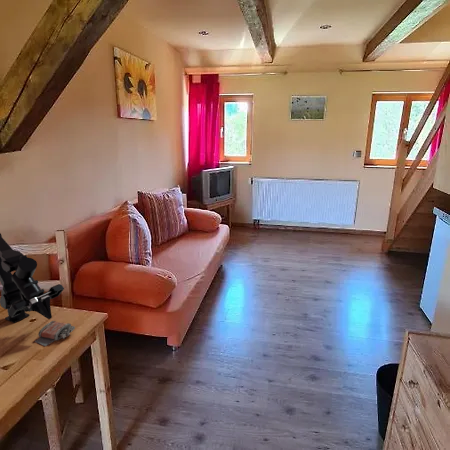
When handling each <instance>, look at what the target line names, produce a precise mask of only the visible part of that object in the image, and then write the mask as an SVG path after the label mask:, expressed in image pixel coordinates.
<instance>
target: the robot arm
mask: <svg viewBox="0 0 450 450" xmlns="http://www.w3.org/2000/svg"><path fill="white" fill-rule="evenodd" d="M37 262H38V261H36V260H35V259H34V258H32V257H28V256H27V254H25V255H24V254H23V253H22V251H19V250H15V249H13V248H12V247H11V245H9V243H8V242H7V241H6V240H5V239H4V238H3V236H2V233H1V232H0V284H1V286H2V289H1V294H0V295H1V296H0V306H1V308H3V309H4V310H7V316H5V317H4V319H5V320H6V321H8V322H11V323H13V324H15V323H17V322H19V321H22V320H23V319H26V318H27V317H29V316H30V314H29V313H30V312H36V313H38V314H40V315H41V316H43V317H44V318H46V319H47V320H51V319H52V318H53V317H52V309H51V300H53V299H56V298H57V297H60V295H61V294H62V292H63V291H64V290H65V287H64V286H63V285H62V284H60V283H58V284H56V285H53V286H51V287H50V288H49V289H48V290H47V292H45V289H44V288H42V289H41V287H40V286H39V284H38V283H39V281H38V279H34V277H33V276H34V274H35V272H36V270H37V267H38V263H37ZM12 272H14V273H12ZM27 312H29V313H27Z"/></svg>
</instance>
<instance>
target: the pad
mask: <svg viewBox="0 0 450 450" xmlns="http://www.w3.org/2000/svg"><path fill="white" fill-rule="evenodd" d="M55 341H57V340H55V339H50V338H45V337H43V338H42V337H39V338H38V339H36V340H34V342H35V343H36V344H39V345H42V346H43V347H47V346H49V345H51V344H52V343H54V342H55Z"/></svg>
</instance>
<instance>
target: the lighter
mask: <svg viewBox="0 0 450 450" xmlns="http://www.w3.org/2000/svg"><path fill="white" fill-rule="evenodd" d="M75 329H76V327H75V325H74V326H73V325H72V324H71V323H66V322H65V323H64V322H60V321H56V320H52V321H50V322H48V323H46V324H45V325H44V326H43V327H42V328H41V329H40V330H39V331H38V334H37V336H38V337H39V338H41V337H42V338H43V337H45V338H50V339H55V340H56V341H60V340H61V339H65V338H67V337H69V336H70V334H71V333H72V332H73V331H74V330H75Z"/></svg>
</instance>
